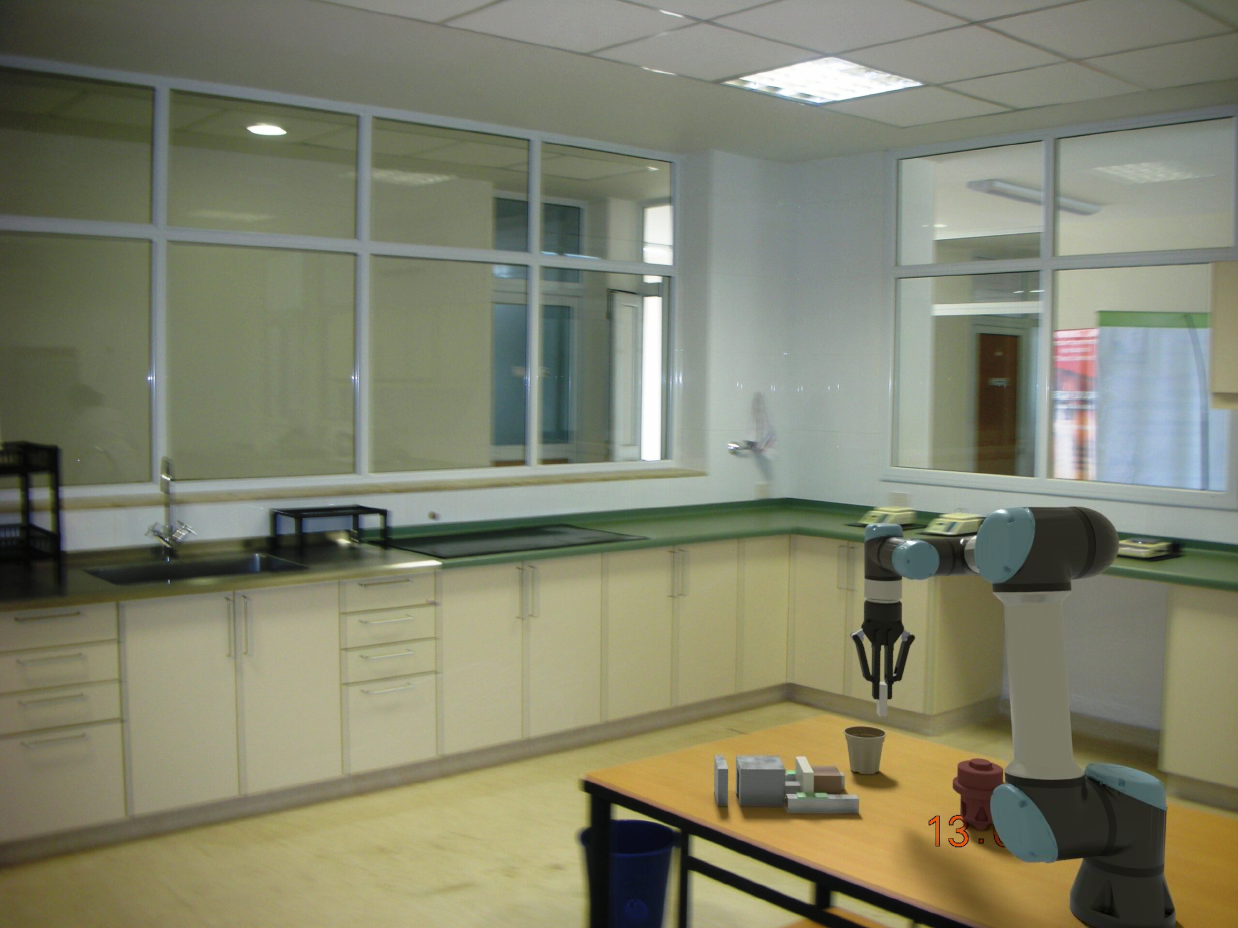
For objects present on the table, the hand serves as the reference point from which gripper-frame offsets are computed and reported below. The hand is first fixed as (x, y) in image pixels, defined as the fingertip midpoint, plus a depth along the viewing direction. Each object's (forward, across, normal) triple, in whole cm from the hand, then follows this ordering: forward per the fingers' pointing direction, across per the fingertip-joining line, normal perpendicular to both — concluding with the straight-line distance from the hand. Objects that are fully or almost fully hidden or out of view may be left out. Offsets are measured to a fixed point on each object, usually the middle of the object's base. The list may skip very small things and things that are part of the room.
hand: (881, 714), depth 216 cm
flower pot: (+18, -1, -19) cm, 26 cm away
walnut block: (+18, +12, -1) cm, 21 cm away
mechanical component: (+18, -16, +12) cm, 27 cm away
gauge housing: (+18, +20, -1) cm, 27 cm away
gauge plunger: (+17, +22, -1) cm, 28 cm away
